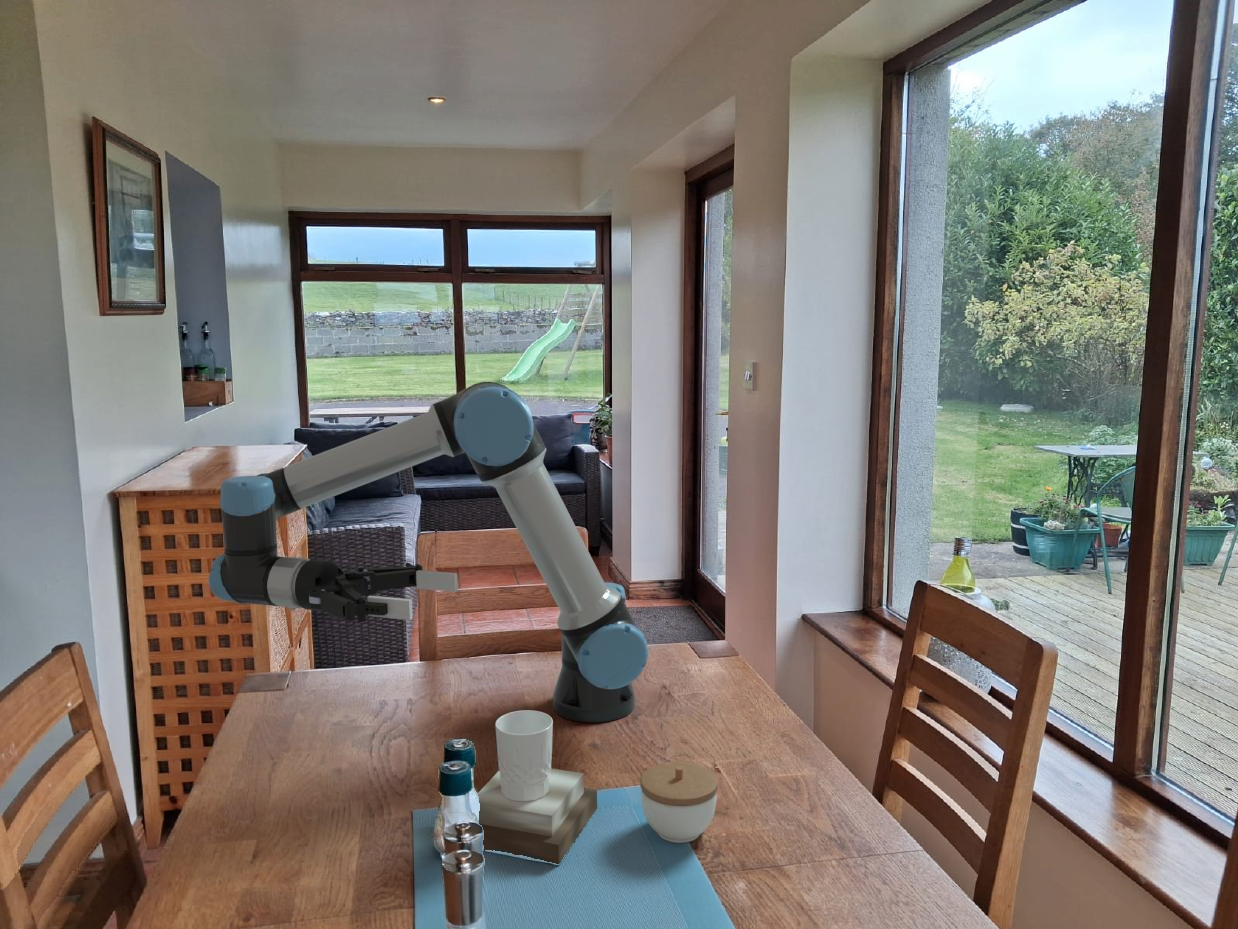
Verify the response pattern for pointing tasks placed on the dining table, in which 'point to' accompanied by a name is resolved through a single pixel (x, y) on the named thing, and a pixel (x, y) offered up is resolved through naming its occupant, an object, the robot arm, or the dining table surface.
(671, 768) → the lidded jar
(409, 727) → the dining table surface
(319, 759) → the dining table surface
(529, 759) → the white cup
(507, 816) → the block stand
